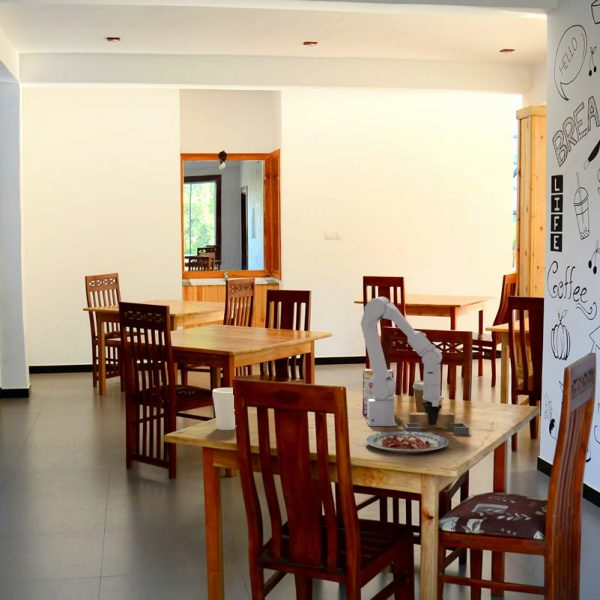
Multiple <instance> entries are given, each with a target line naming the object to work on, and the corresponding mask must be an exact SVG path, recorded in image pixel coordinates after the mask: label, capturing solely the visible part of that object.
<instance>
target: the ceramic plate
mask: <svg viewBox="0 0 600 600" xmlns="http://www.w3.org/2000/svg"><path fill="white" fill-rule="evenodd" d="M365 443H366V444H368V446H371V447H374V448H378V449H382V450H384V451H387V452H391V451H392V452H391V453H398V452H400V453H401V454H419V452H421V453H426V451H427V452H430V450H431V451H434V450H439V449H442V448H445V447H447V446H448V445H449V440H448V439H447V438H445V437H443V436H440V435H437V434H434V433H427V432H422V431H421V432H407V431H400V430H398V431H386V432H385V431H384V432H378V433H374V434H373V433H372V434H371V435H368V436H367V437H366V438H365Z"/></svg>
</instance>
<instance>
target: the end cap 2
mask: <svg viewBox="0 0 600 600" xmlns="http://www.w3.org/2000/svg"><path fill="white" fill-rule="evenodd" d="M469 428H470V427H469V426H468V425H467V424H466V423H465V422H454V423H450V429H449V431H450V432H453V435H454V436H469V435H470V434H469V433H470V431H469V430H470V429H469Z"/></svg>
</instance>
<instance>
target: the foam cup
mask: <svg viewBox="0 0 600 600" xmlns="http://www.w3.org/2000/svg"><path fill="white" fill-rule="evenodd" d="M233 388H234V387H220V388H219V387H218V388H213V390H212V400H213V405H214V412H215V413H214V414H215V421H216V422H215V423H216V427H217V429H218V430H219V431H231V430H232V431H233V430H236V429H235V415H234V411H235V409H234V395H233Z"/></svg>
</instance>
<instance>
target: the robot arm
mask: <svg viewBox="0 0 600 600" xmlns="http://www.w3.org/2000/svg"><path fill="white" fill-rule="evenodd" d="M381 319H386V320H390V321H392V322H393V323H394V324H395V325H396V326H397V327H398V328H399V329H400V331H402V332H403V334H405V336H406V337H407V343H408V345H409V346H410V347H411V348H412V349H413V350H414V351H415V353H416V354H417V355H418V356H419V357H422V358H421V362H422V364H423V381H424V384H423V399H424V400H426V401H422V404H423V406H424V409H425V413H428V421H429V425H436V422H437V417H438V414H439V413H440V412H441V409H442V404H439V403H440V401H441V400H444V399H445V398H444V397H445V396H443V395H442V396H441V375H442V374H441V361H442V360H443V354H442V352H441V351H440V349H439V348H437V347H436V345H435V344H432V343H431V341H430V340H429V339H428V338H427V334H426V333H425V332H422V331H419V330H415V328H413V327H412V325H411V324H410V322H409V321H408V320H407V319H406V318H405V317H404V315H403V314H402V313H401V311H400V310H399V309H398V307H396V305H395V303H393V302H391V301H390V299H389V298H387V297H385V296H379V297H375V298H372V299H370V300H369V301H368V302H367V303H366V305H365V306H364V311H363V314H362V318H361V321H360V327H361V332H362V334H363V339H364V343H365V347H366V350H367V355H368V358H369V362H370V367H371V369H372V371H373V378H372V381H373V388H372V392H373V395H374V399H368V403H367V415H366V422H367V424H368V426H369V427H398V426H397V425H398V424H397V423H396V421H395V406H396V405H395V395H394V396H393V393H394V394H395V392H396V389H397V384H396V382H395V380H394V381H393V379H392V378H391V375H390V373H389V371H388V370H389V369H388V367H387V364H386V359H385V355H384V351H383V347H382V343H381V339H380V335H379V330H378V327H377V325H378V324H379V322H380V321H381Z"/></svg>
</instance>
